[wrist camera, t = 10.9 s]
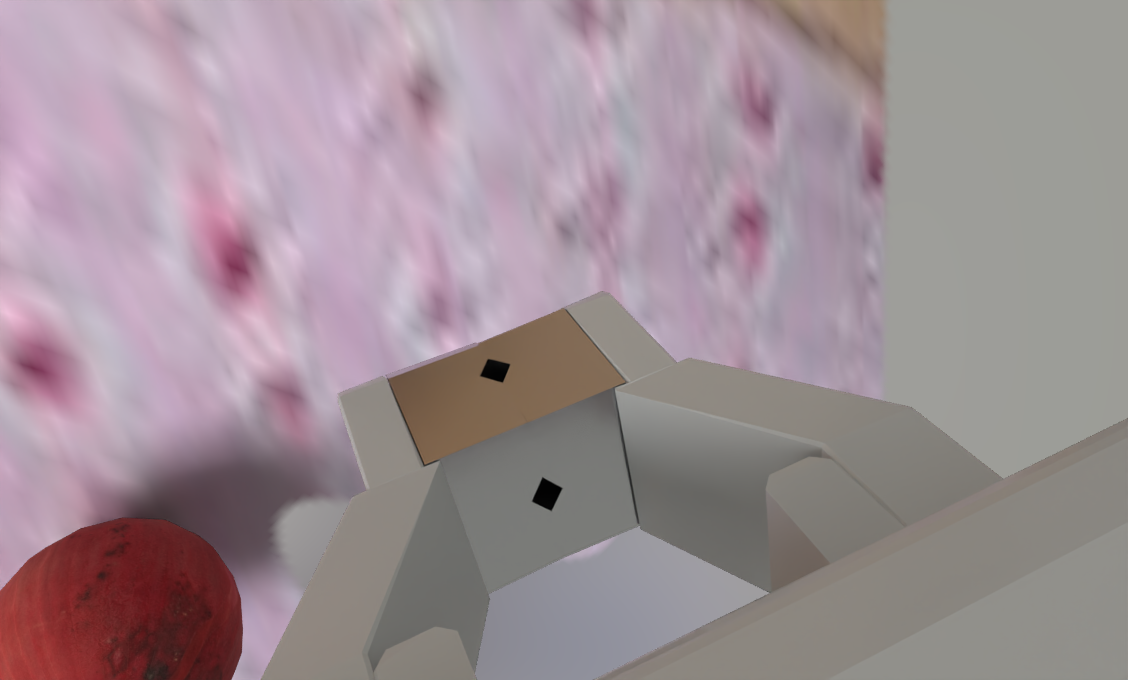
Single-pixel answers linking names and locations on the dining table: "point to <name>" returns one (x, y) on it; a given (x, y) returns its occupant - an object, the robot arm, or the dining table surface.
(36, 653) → the onion
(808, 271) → the dining table surface
